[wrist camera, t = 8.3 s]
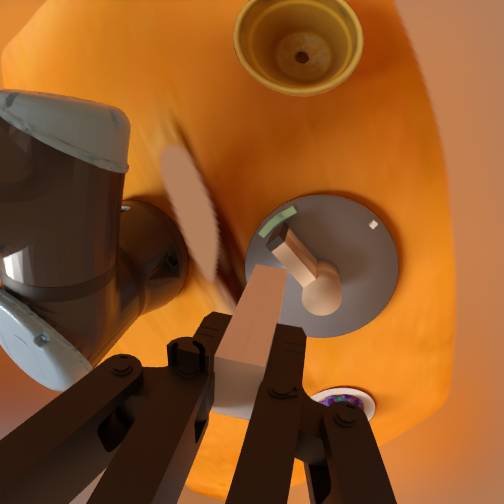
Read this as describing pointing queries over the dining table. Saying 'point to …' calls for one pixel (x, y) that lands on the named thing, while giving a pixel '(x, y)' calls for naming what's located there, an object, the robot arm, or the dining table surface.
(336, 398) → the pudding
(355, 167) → the dining table surface
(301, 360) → the robot arm
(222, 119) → the dining table surface
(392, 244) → the flat grey disc
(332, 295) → the tuning peg
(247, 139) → the dining table surface
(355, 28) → the plant pot
